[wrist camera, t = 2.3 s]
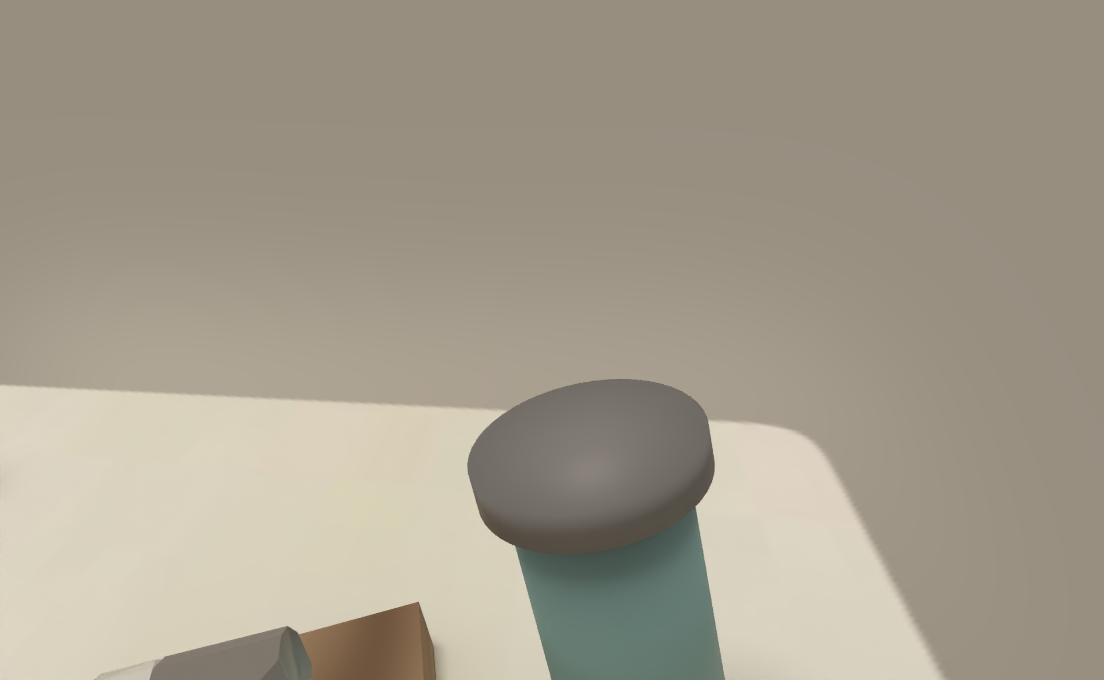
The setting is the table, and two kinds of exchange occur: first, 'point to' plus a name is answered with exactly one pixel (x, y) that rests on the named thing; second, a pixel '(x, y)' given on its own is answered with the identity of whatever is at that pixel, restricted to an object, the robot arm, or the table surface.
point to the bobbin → (607, 526)
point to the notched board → (373, 647)
